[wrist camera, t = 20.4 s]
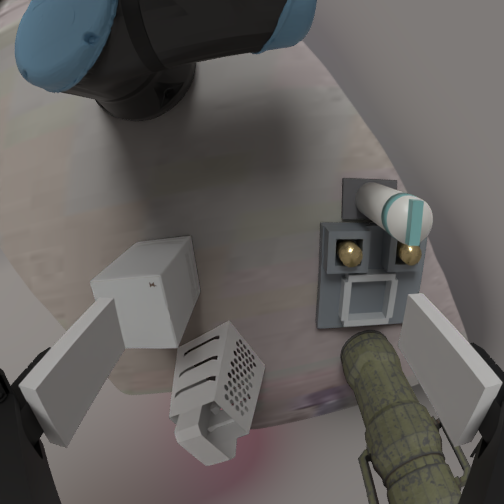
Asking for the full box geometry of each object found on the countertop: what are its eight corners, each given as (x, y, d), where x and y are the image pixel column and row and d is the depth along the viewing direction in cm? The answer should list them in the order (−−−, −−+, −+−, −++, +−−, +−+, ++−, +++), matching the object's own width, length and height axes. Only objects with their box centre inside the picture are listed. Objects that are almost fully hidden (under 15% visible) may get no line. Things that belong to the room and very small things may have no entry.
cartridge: (355, 181, 42) (395, 197, 27) (388, 182, 41) (439, 199, 27) (354, 216, 43) (391, 248, 29) (386, 217, 43) (434, 248, 29)
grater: (229, 320, 49) (212, 413, 30) (265, 365, 52) (265, 461, 33) (177, 347, 51) (143, 436, 32) (214, 388, 54) (198, 479, 35)
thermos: (322, 351, 51) (368, 552, 17) (385, 315, 48) (489, 496, 15) (344, 383, 53) (391, 561, 20) (402, 350, 51) (488, 514, 17)
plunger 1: (335, 237, 42) (341, 245, 38) (355, 236, 42) (363, 245, 38) (334, 257, 43) (340, 267, 39) (353, 256, 43) (361, 266, 39)
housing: (320, 222, 44) (327, 231, 40) (422, 223, 44) (437, 231, 39) (315, 321, 49) (320, 339, 44) (408, 316, 48) (420, 331, 44)
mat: (342, 178, 42) (343, 178, 42) (395, 180, 42) (397, 180, 41) (341, 218, 44) (342, 219, 43) (393, 218, 44) (395, 219, 43)
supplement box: (134, 240, 46) (86, 279, 32) (192, 234, 45) (161, 273, 31) (146, 296, 49) (108, 349, 34) (201, 293, 48) (179, 350, 34)
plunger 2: (393, 236, 42) (404, 245, 38) (410, 236, 42) (422, 244, 38) (391, 256, 43) (402, 265, 39) (408, 255, 43) (420, 265, 39)
